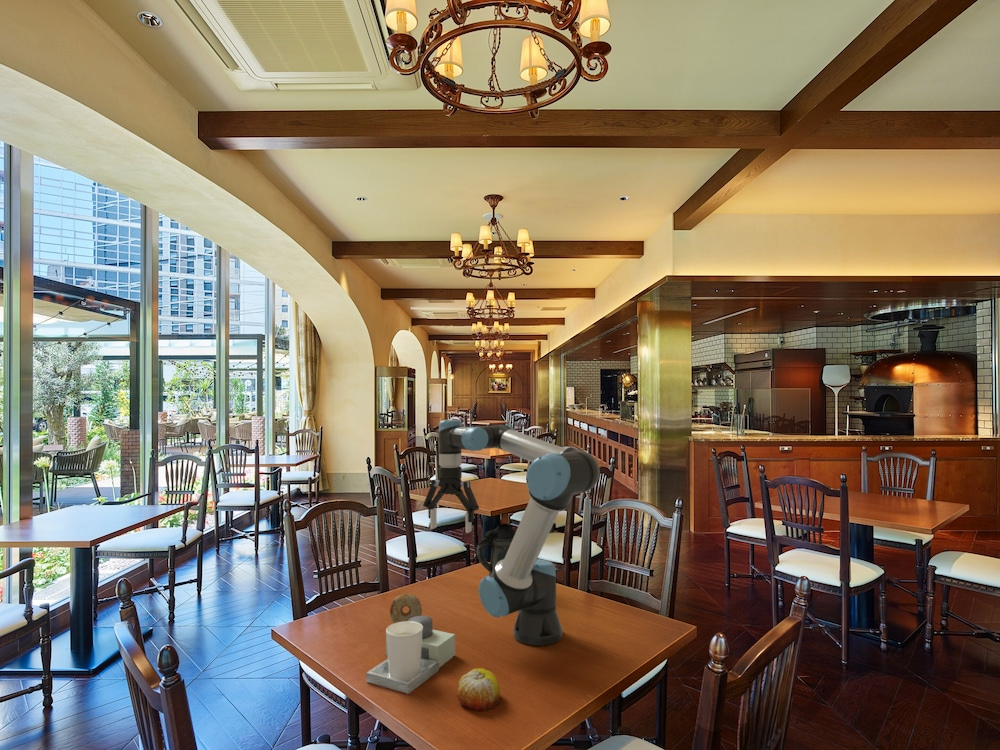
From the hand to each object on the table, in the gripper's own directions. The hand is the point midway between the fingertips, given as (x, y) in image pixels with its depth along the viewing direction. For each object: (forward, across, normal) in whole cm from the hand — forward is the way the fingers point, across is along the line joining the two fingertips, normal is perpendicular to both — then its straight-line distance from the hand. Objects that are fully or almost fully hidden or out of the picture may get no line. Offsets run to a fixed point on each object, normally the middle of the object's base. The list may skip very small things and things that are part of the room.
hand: (450, 530), depth 186 cm
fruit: (+31, -31, +38) cm, 58 cm away
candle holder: (+30, -7, +36) cm, 47 cm away
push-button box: (+30, -4, +24) cm, 39 cm away
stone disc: (+31, +13, +8) cm, 34 cm away
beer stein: (+31, -3, -36) cm, 47 cm away
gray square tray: (+30, -7, +36) cm, 48 cm away
